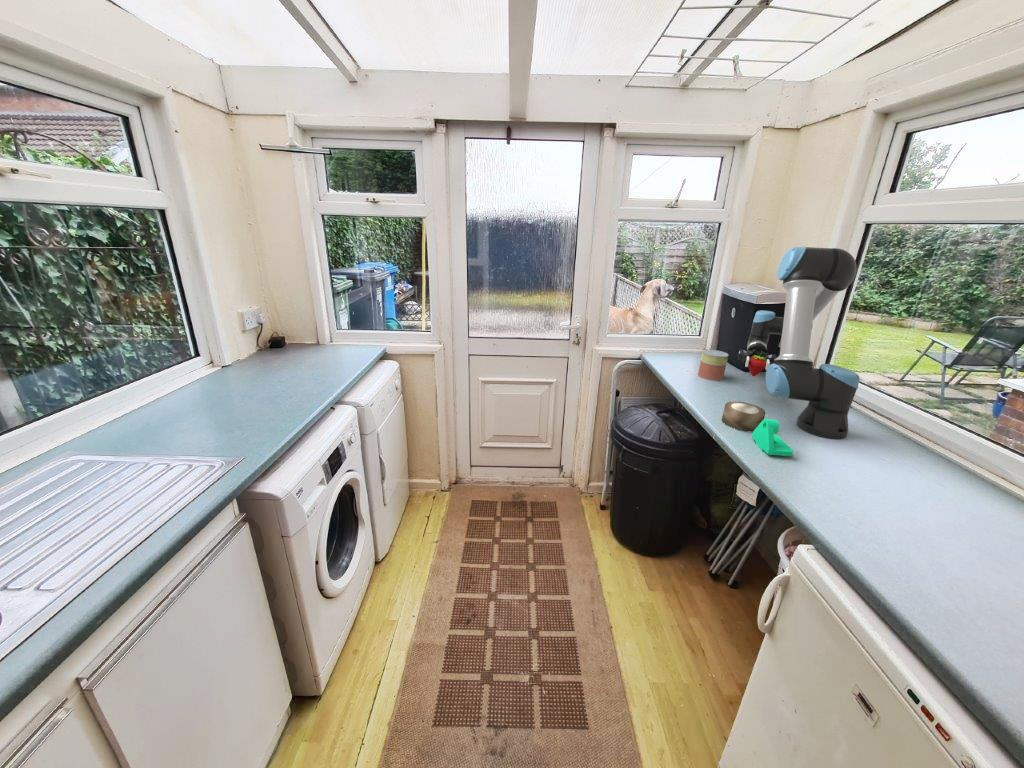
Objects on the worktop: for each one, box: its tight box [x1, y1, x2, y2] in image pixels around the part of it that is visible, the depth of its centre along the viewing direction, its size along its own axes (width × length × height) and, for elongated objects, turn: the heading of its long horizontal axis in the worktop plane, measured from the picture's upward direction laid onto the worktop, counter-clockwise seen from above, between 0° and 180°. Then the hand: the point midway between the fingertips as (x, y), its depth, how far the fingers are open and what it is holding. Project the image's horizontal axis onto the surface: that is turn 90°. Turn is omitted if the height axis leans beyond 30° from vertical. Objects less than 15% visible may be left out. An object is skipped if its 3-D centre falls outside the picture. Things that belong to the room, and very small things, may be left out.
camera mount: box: [751, 418, 794, 457], centre depth 134 cm, size 12×8×10 cm, turn 174°
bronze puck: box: [721, 400, 766, 432], centre depth 152 cm, size 13×13×6 cm
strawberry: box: [747, 354, 766, 377], centre depth 165 cm, size 6×8×10 cm
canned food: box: [697, 349, 730, 382], centre depth 198 cm, size 11×11×12 cm
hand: (757, 365), depth 160 cm, fingers closed on strawberry, 6 cm apart
